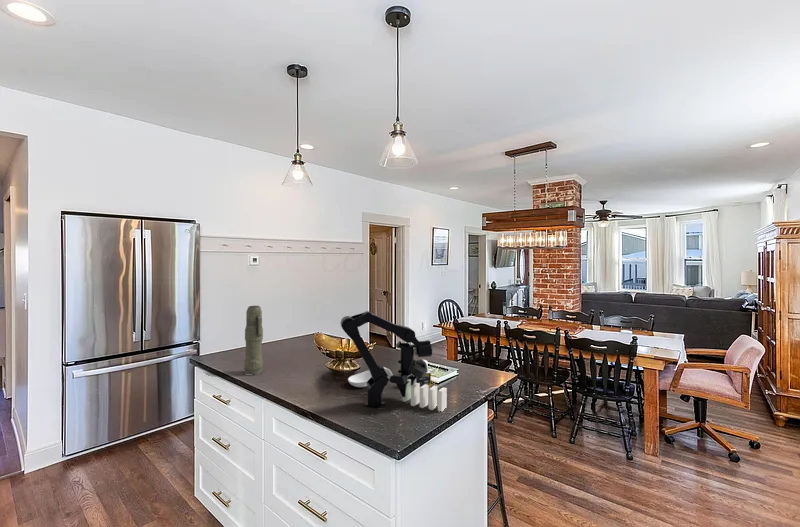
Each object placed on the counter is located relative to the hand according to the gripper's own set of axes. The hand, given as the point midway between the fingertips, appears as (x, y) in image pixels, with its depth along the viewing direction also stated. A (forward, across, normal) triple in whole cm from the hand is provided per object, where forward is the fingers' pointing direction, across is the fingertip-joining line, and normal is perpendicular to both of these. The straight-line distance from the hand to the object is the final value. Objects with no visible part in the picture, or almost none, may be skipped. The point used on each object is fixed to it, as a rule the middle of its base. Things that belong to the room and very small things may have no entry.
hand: (406, 394), depth 161 cm
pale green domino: (+2, 0, 0) cm, 2 cm away
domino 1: (+3, 0, -4) cm, 5 cm away
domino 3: (+3, 0, -12) cm, 12 cm away
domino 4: (+3, 0, -16) cm, 16 cm away
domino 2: (+3, 0, -8) cm, 9 cm away
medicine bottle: (+3, +23, +4) cm, 24 cm away
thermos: (+3, -2, +89) cm, 89 cm away
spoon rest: (+4, +14, +27) cm, 31 cm away
